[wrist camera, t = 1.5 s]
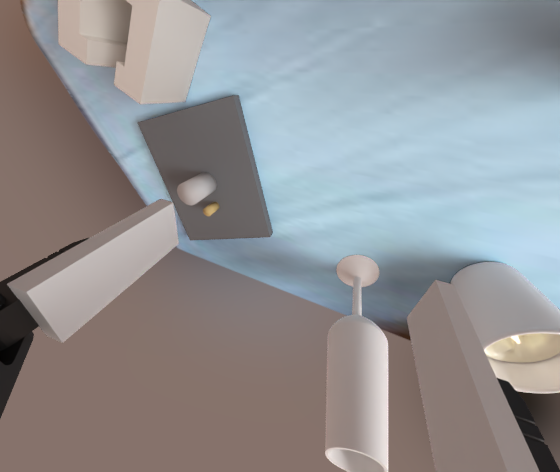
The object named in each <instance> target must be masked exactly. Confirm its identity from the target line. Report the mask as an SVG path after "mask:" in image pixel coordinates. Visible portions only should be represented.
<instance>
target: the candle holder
mask: <svg viewBox="0 0 560 472" xmlns="http://www.w3.org/2000/svg"><path fill="white" fill-rule="evenodd" d="M450 284H452V285H454V286H455V288H456V290H457V292H458V295H459V297H460V299H461V301H462V303H463V306H464V308H465V310H466V312H467V314H468V316H469V319H470V321H471V323H472V325H473V327H474V330H475V332H476V334H477V336H478V338H479V340H480V343H481V345H482V347H483V349H484V351H485V354H486V356H487V358H488V360H489V362H490V364H491V367H492V369H493V371H494V373H495V375H496V378H499V379H502V380H505V381H508V382H509V383H510V384H511V385H512V386H513V388H514V389H515V390H516V391H521V392H528V393H557V392H560V309H559V308H558V307H556V306H555V305H554V304H553V303H552V302H551V301H550V300H549V299H548V298H547V297H546V296H545V295H544V294H543V293H542V292H541V291H540V290H539V289H538V288H536V287H535V286H534V285H533V284H532V283H531V282H530V281H529V280H528V279H527V278H526V277H525V276H524V275H523V274H521V273H520V272H519V271H518V270H517V269H515V268H514V267H512V266H510V265H507V264H504V263H499V262H481V263H476V264H472V265H469V266H467V267H465V268H463V269H461V270H460V271H459V272H457V273H456V274H455V275H454V277H453V278H452V280H451V282H450Z"/></svg>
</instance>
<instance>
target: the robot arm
mask: <svg viewBox="0 0 560 472" xmlns="http://www.w3.org/2000/svg"><path fill="white" fill-rule="evenodd" d="M178 244H179V242H178V234H177V227H176V219H175V212H174V204H173V202H170V201H167V200H163V199H159V200H158V201H156V202H154V203H152V204H150V205H149V206H147V207H145V208H143V209H141V210H140V211H138V212H136V213H134V214H132V215H131V216H129V217H127V218H125V219H123V220H122V221H120V222H118V223H116V224H114V225H113V226H111V227H109V228H107V229H105V230H104V231H102V232H100V233H98V234H96V235H95V236H93V237H91V238H86V239H83V240H80V241H77V242H74V243H72V244H70V245H68V246H66V247H64V248H62V249H60V250H59V252H55V253H53V254H51V255H49V256H48V258H44V259H42V260H40V261H38V262H36V263H34V264H33V265H31V266H29V267H27V268H25V269H24V270H21V271H20V272H18V273H16V274H14V275H12V276H10V277H8V278H7V279H5V280H3V281H1V282H0V418H1V416H2V413H3V411H4V408H5V406H6V403H7V401H8V399H9V396H10V394H11V391H12V389H13V387H14V384H15V382H16V379H17V377H18V374H19V372H20V370H21V367H22V365H23V362H24V360H25V358H26V355H27V353H28V350H29V348H30V345H31V343H32V341H33V336H34V334H33V332H32V330H34V329H35V328H37V327H38V326H39V327H40V328H41V330H42V331H43V332H44V333H45V335H46V336H48V337H51V338H53V339H55V340H58V341H60V342H62V343H63V342H64V341H65V340H67V339H68V338H69V337H70V336H71V335H72V334H73V333H75V332H76V331H77V330H78V329H79V328H81V327H82V326H83V325H84V324H85V323H86V322H88V321H89V320H90V319H91V318H92V317H93V316H95V315H96V314H97V313H98V312H99V311H101V310H102V309H103V308H104V307H105V306H106V305H108V304H109V303H110V302H111V301H112V300H113V299H114V298H116V297H117V296H118V295H119V294H120V293H122V292H123V291H124V290H125V289H126V288H127V287H129V286H130V285H131V284H132V283H133V282H134V281H136V280H137V279H138V278H139V277H140V276H142V275H143V274H144V273H145V272H146V271H147V270H149V269H150V268H151V267H152V266H153V265H154V264H156V263H157V262H158V261H159V260H160V259H161V258H163V257H164V256H165V255H166V254H167V253H169V252H170V251H171V250H172V249H173V248H174V247H176V246H177V245H178ZM407 322H408V327H409V332H410V338H411V343H412V348H413V353H414V359H415V364H416V369H417V375H418V380H419V385H420V390H421V396H422V401H423V406H424V412H425V417H426V422H427V427H428V432H429V438H430V443H431V448H432V454H433V459H434V465H435V470H436V472H560V470H559V468H558V466H557V464H556V462H555V460H554V458H553V456H552V454H551V452H550V450H549V448H548V446H547V445H545V444H544V438H543V436H542V435H541V433H540V431H539V429H538V427H537V426H535V421H534V419H533V417H532V415H531V413H530V411H529V409H528V407H527V405H526V403H525V401H524V400H523V399H522V398H521V396H520V395H519V394H518V393H517V391H516V390H515V389H514V388H513V386H512V385H511V384H510V383H509V382H508V381H505V380H502V379H499V378H496V375H495V373H494V371H493V369H492V367H491V364H490V362H489V360H488V358H487V356H486V354H485V351H484V349H483V347H482V345H481V343H480V340H479V338H478V336H477V334H476V332H475V330H474V327H473V325H472V323H471V321H470V319H469V316H468V314H467V312H466V310H465V308H464V306H463V303H462V301H461V299H460V297H459V295H458V292H457V290H456V288H455V286H454V285H452V284H449V283H446V282H442V281H439V280H435V281H434V282H433V283H432V285H431V286H430V287H429V289H428V290H427V291H426V293H425V294H424V295H423V297H422V298H421V299H420V301H419V302H418V303H417V305H416V306H415V307H414V309H413V310H412V311H411V313H410V314H409V315H408V317H407Z"/></svg>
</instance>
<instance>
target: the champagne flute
mask: <svg viewBox="0 0 560 472" xmlns="http://www.w3.org/2000/svg"><path fill="white" fill-rule="evenodd" d="M336 271H337V275H338V277H339V278H340V280H341V281H343V282H344V283H345V284H347V285H350V286H353V307H352V315H350V316H346V317H343V318H341V319H339V320H338V321H337V322H335V323H334V324H333V326H332V327H331V328H330V330H329V333H328V348H327V349H328V350H327V351H328V352H327V393H326V397H327V398H326V441H325V446H326V447H325V455H326V457H327V458H328V460H330V461H331V462H332V463H333V464H335V465H336V466H338V467H340V468H342V469H344V470H346V471H348V472H388V342H387V339H386V337H385V335H384V334H383V332H382V331H381V329H380V328H379V327H378V326H377V325H376V324H375V323H374V322H372V321H371V320H369V319H367V318H365V317H363V316H362V306H361V287H366V286H369V285H371V284H373V283H374V282H375V281H376V280H377V279H378V277H379V267H378V265H377V264H376V263H375V262H374V261H373V260H372V259H370V258H368V257H366V256H362V255H351V256H347V257H345V258H343V259H342V260H341V261H340V262H339V263H338V265H337V270H336Z"/></svg>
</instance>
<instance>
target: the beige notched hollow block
mask: <svg viewBox="0 0 560 472" xmlns="http://www.w3.org/2000/svg"><path fill="white" fill-rule="evenodd" d="M210 18H211V16H210V15H209V14H208V13H206V12H205V11H204V10H203V9H201V8H200V7H199V6H198V5H196V4H195V3H194V2H193V1H191V0H58V33H59V45H60V46H62V47H63V48H64V49H66V50H67V51H69V52H70V53H71V54H73V55H74V56H75V57H77V58H78V59H79V60H81V61H82V62H83V63H85V64H86V65H95V66H105V67H114V68H116V71H115V80H114V85H115V86H116V87H117V88H119V89H120V90H122V91H123V92H124V93H126V94H127V95H128V96H130V97H131V98H132V99H134V100H135V101H136V102H138V103H139V104H156V103H176V102H185V101H186V98H187V95H188V91H189V88H190V85H191V81H192V78H193V75H194V71H195V68H196V65H197V61H198V58H199V54H200V51H201V48H202V44H203V41H204V38H205V34H206V31H207V28H208V24H209V21H210Z"/></svg>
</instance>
